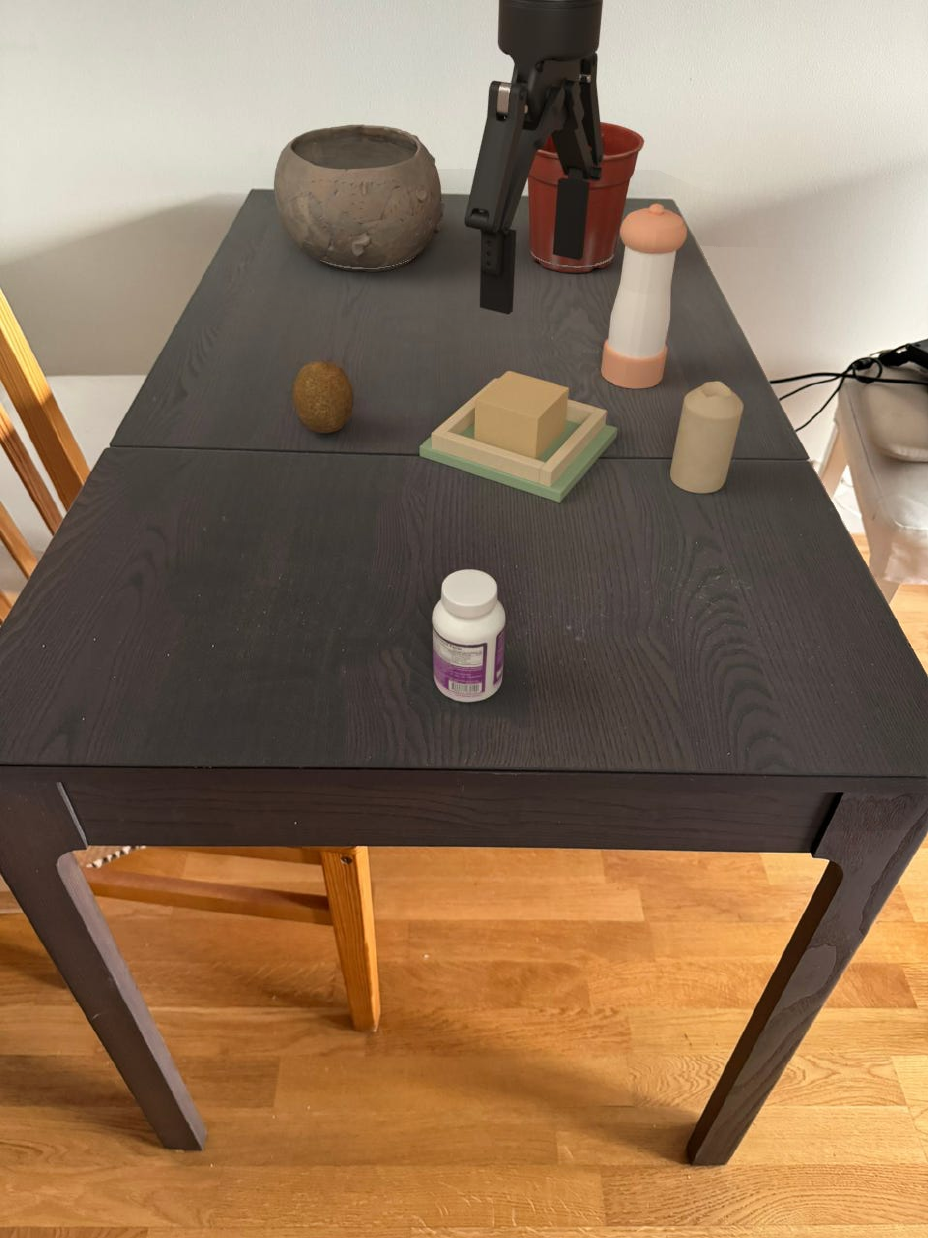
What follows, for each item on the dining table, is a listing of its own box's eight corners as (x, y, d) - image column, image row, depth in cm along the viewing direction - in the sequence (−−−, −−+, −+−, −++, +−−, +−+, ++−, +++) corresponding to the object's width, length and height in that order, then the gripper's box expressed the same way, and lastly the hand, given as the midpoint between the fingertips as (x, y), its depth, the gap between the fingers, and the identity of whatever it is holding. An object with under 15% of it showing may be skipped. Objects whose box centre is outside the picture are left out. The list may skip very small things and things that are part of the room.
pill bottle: (468, 645, 75) (470, 552, 68) (516, 680, 72) (523, 586, 66) (418, 679, 72) (416, 585, 66) (466, 716, 69) (469, 622, 63)
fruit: (342, 451, 96) (336, 381, 90) (287, 441, 97) (278, 371, 92) (364, 421, 100) (360, 352, 95) (311, 412, 102) (304, 343, 96)
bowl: (257, 276, 128) (241, 160, 118) (312, 218, 144) (302, 112, 134) (418, 294, 125) (416, 175, 114) (457, 232, 141) (458, 124, 131)
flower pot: (555, 289, 126) (566, 163, 115) (492, 248, 137) (497, 129, 126) (651, 266, 133) (669, 145, 122) (584, 229, 143) (595, 114, 132)
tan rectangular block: (564, 430, 97) (569, 387, 94) (534, 462, 93) (538, 418, 89) (505, 412, 100) (508, 370, 96) (473, 442, 95) (475, 399, 92)
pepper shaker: (675, 379, 108) (707, 209, 95) (626, 394, 105) (652, 221, 92) (636, 353, 113) (661, 188, 100) (588, 367, 110) (607, 199, 97)
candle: (729, 494, 91) (752, 404, 84) (673, 493, 91) (692, 402, 84) (719, 463, 95) (740, 374, 88) (665, 462, 95) (682, 373, 88)
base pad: (616, 437, 99) (620, 412, 97) (559, 503, 90) (562, 477, 88) (485, 397, 104) (485, 373, 102) (419, 456, 95) (418, 430, 93)
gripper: (577, -37, 76) (557, 229, 90) (413, 10, 60) (420, 324, 74) (664, -29, 73) (629, 244, 87) (516, 22, 57) (503, 346, 71)
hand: (533, 281), depth 81 cm, fingers open, 13 cm apart
